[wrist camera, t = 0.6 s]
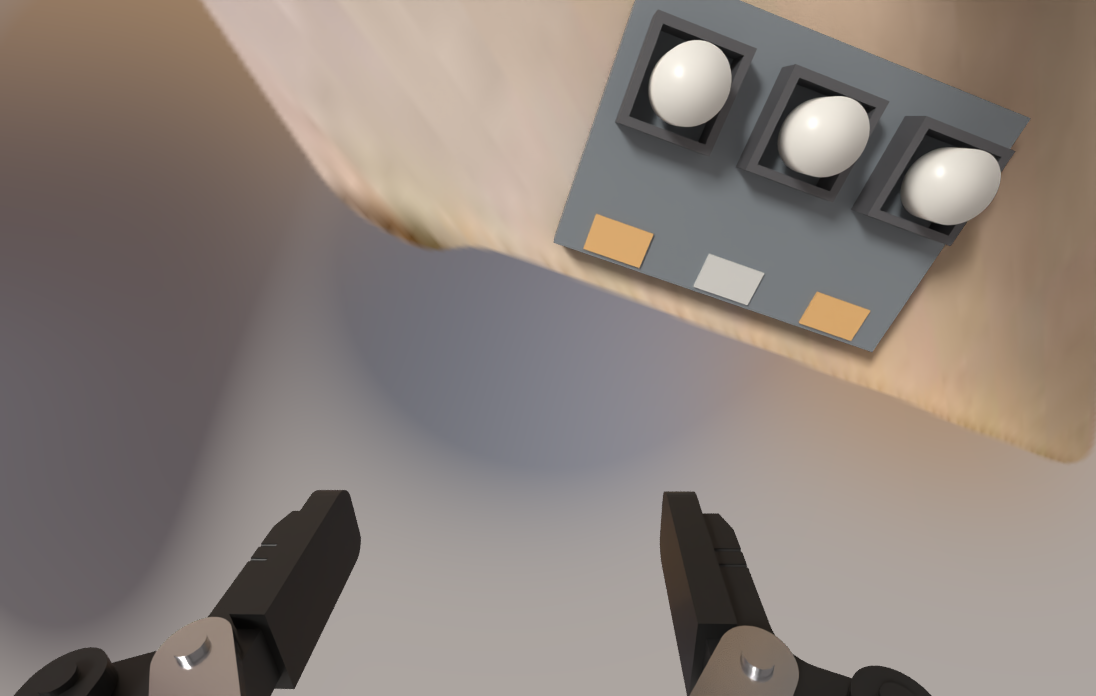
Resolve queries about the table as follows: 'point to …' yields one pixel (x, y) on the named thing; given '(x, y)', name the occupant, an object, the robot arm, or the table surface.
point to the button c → (950, 185)
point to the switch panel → (770, 173)
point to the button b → (823, 136)
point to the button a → (690, 84)
